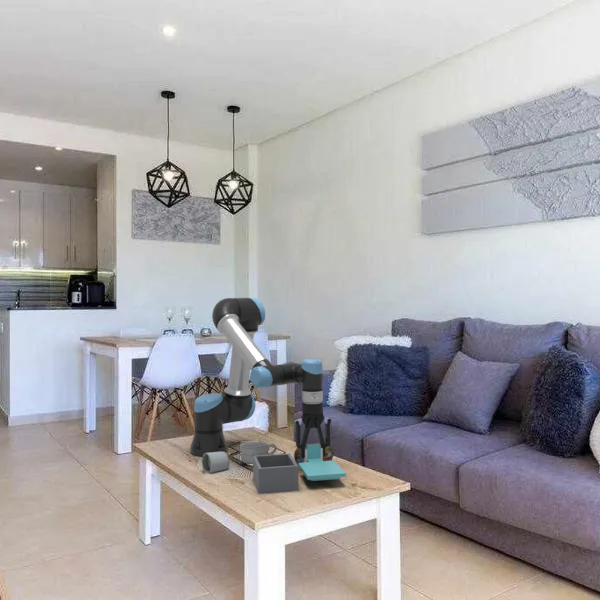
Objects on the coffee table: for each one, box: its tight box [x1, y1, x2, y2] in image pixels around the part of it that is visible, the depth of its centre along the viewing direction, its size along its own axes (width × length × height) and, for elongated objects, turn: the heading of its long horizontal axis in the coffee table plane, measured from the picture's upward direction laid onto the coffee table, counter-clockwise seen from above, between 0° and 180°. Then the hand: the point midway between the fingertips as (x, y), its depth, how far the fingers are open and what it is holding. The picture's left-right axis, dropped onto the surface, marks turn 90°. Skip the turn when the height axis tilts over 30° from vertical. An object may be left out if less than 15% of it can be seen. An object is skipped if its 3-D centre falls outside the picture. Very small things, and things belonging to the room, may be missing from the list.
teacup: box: [240, 441, 278, 465], centre depth 211 cm, size 14×11×8 cm
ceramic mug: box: [201, 452, 230, 474], centre depth 203 cm, size 11×8×8 cm
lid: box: [297, 443, 347, 482], centre depth 190 cm, size 21×13×7 cm, turn 12°
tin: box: [293, 442, 334, 465], centre depth 208 cm, size 15×3×8 cm, turn 105°
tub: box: [252, 453, 300, 495], centre depth 184 cm, size 15×13×9 cm
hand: (313, 465), depth 200 cm, fingers closed on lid, 5 cm apart
